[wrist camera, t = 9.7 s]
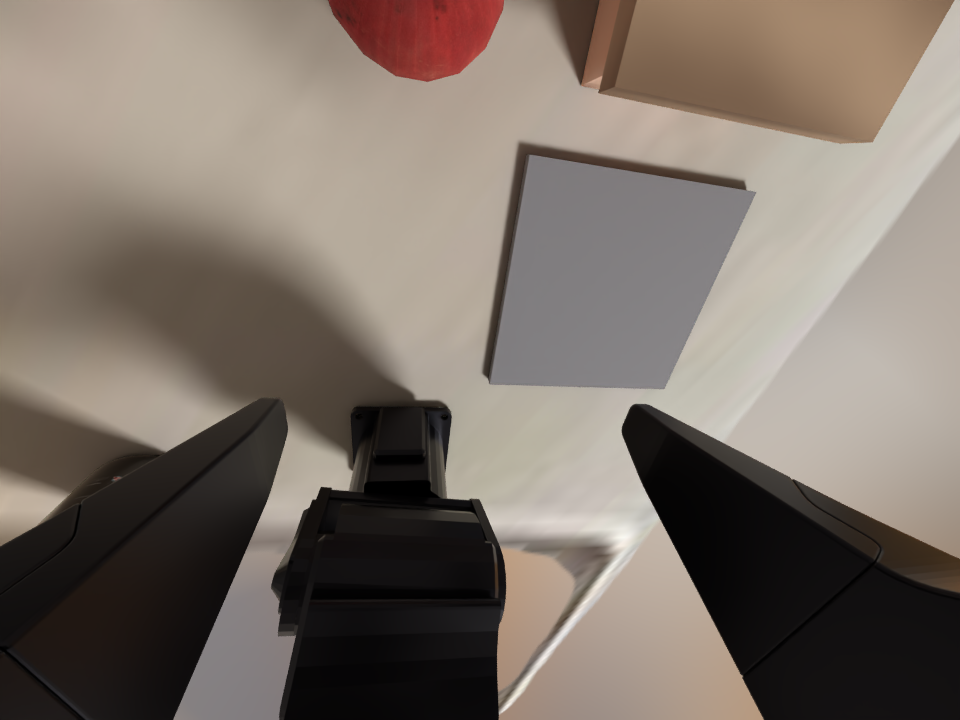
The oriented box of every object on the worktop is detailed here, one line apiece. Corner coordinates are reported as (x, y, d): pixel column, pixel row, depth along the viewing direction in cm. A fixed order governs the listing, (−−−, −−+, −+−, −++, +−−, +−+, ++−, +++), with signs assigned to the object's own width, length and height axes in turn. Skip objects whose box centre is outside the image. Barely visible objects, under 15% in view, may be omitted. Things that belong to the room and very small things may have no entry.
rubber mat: (659, 384, 25) (664, 389, 25) (488, 379, 23) (489, 384, 22) (747, 191, 19) (756, 191, 19) (526, 154, 17) (529, 154, 16)
